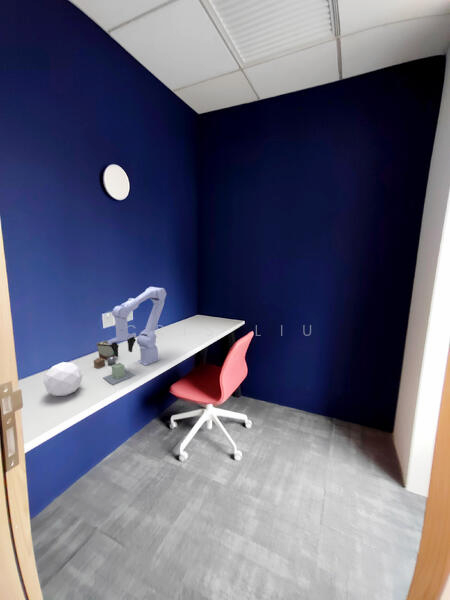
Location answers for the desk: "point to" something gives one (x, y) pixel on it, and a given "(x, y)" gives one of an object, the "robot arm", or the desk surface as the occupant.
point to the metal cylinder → (111, 360)
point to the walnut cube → (99, 363)
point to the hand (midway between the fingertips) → (123, 353)
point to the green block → (118, 370)
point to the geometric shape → (63, 379)
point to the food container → (105, 350)
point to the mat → (115, 381)
